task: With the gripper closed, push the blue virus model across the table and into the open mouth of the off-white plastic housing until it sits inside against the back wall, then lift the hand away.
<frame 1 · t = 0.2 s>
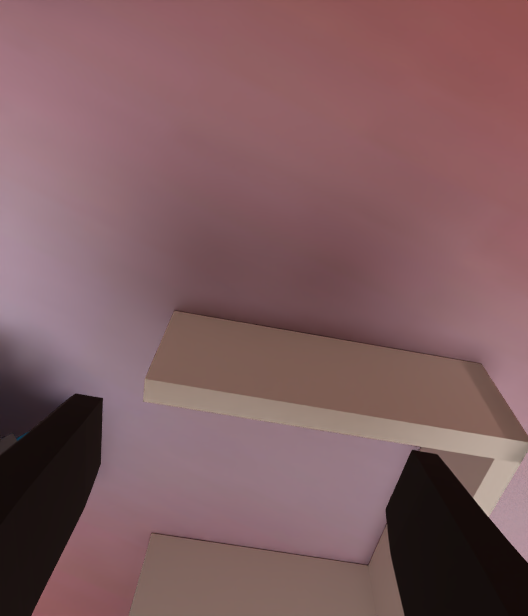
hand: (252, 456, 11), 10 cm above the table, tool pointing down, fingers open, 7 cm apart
housing: (274, 463, 25), on the table
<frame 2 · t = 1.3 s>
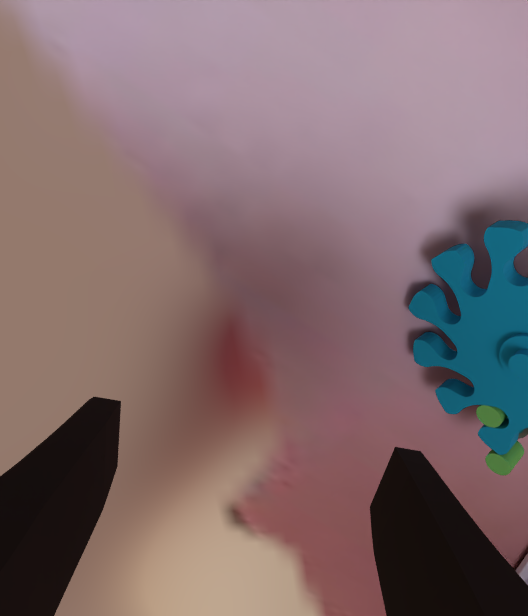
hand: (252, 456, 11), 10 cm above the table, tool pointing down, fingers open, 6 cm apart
blue virus model: (491, 314, 21), on the table
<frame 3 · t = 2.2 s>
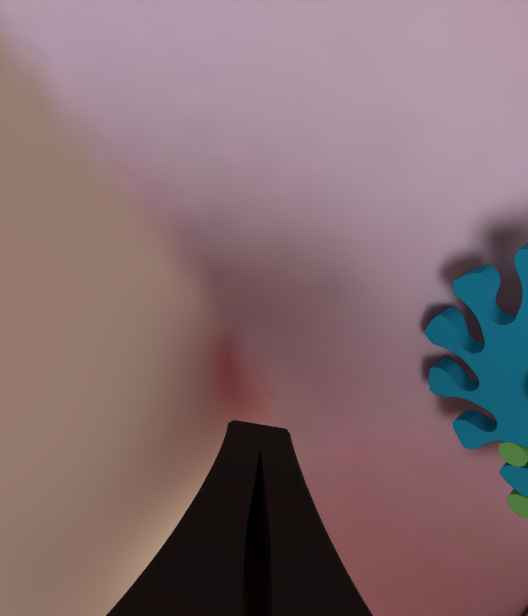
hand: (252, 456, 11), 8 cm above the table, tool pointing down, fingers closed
blue virus model: (514, 339, 19), on the table
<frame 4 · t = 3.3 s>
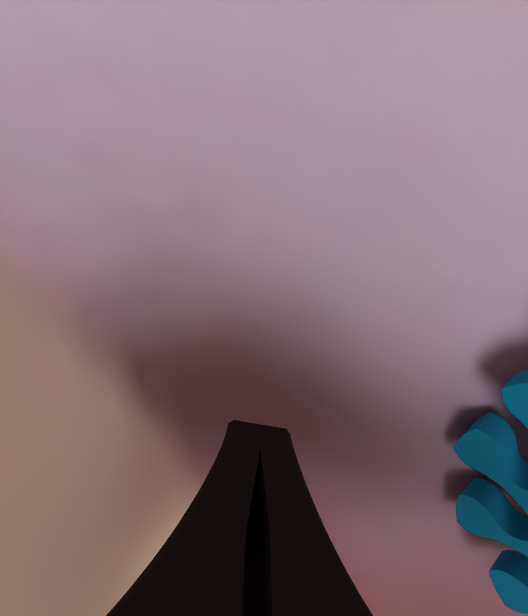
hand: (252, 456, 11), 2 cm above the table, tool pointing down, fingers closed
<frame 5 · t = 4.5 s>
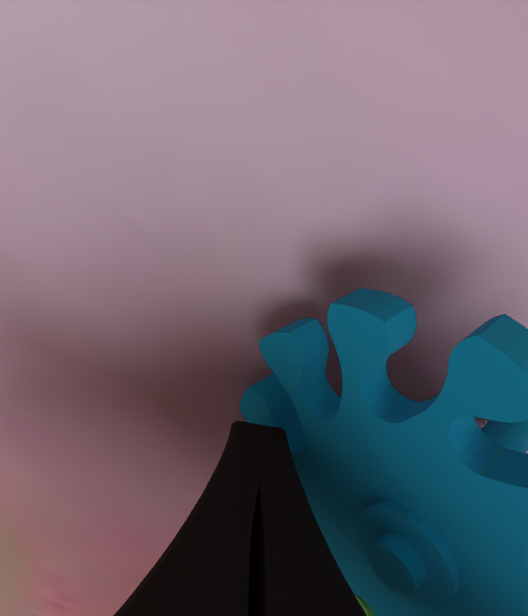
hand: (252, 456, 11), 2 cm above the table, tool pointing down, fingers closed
blue virus model: (382, 419, 13), on the table, touching gripper
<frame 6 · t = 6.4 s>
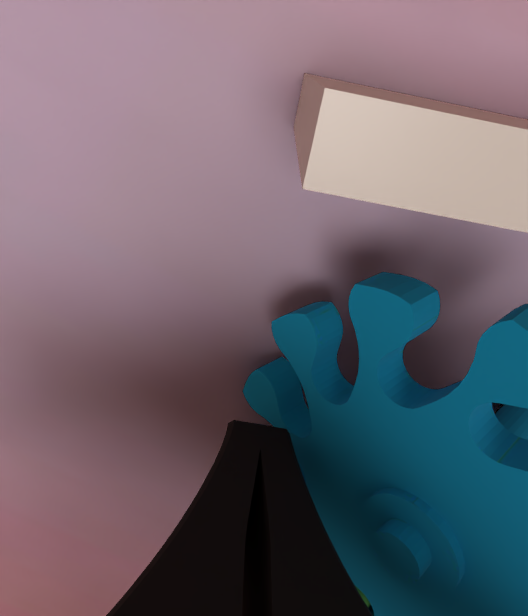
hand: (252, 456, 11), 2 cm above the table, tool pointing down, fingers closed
housing: (454, 437, 13), on the table
blue virus model: (383, 411, 13), on the table
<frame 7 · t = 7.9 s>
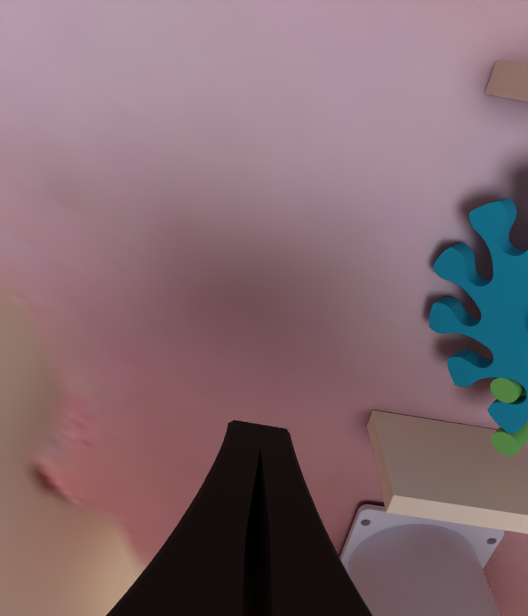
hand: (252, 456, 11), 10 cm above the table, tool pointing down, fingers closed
blue virus model: (514, 287, 20), on the table
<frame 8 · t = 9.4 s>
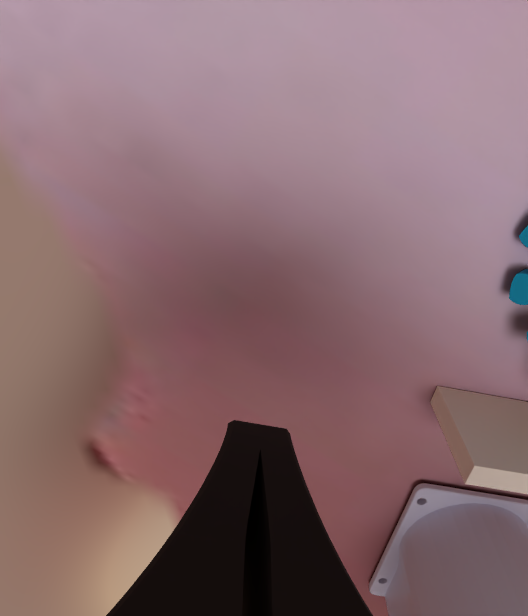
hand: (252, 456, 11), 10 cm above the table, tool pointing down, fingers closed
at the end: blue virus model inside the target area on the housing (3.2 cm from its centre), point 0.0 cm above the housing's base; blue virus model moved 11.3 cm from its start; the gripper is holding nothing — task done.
